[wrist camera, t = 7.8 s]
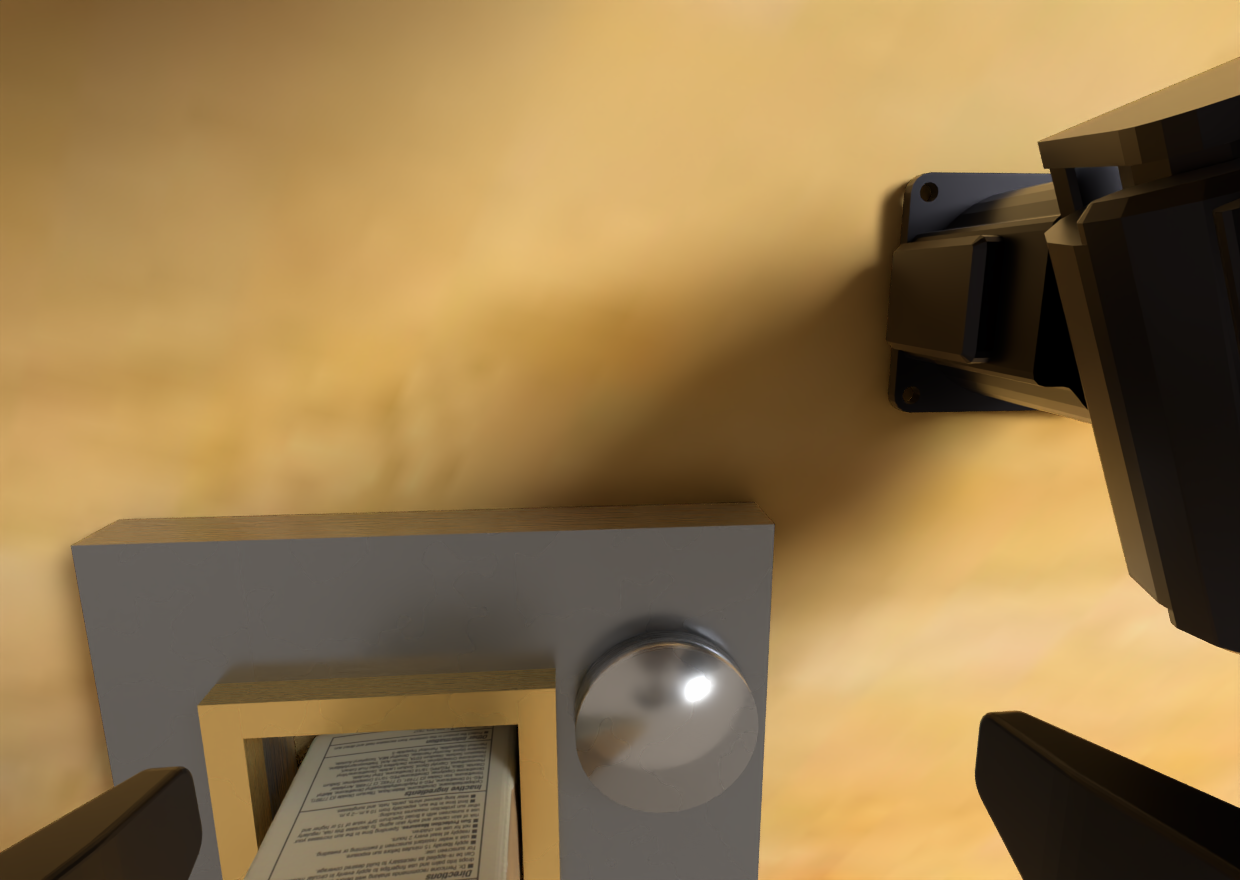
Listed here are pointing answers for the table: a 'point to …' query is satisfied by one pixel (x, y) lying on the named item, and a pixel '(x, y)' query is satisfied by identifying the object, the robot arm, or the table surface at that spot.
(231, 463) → the table surface
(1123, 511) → the robot arm
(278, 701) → the grey slotted board
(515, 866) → the skincare box
